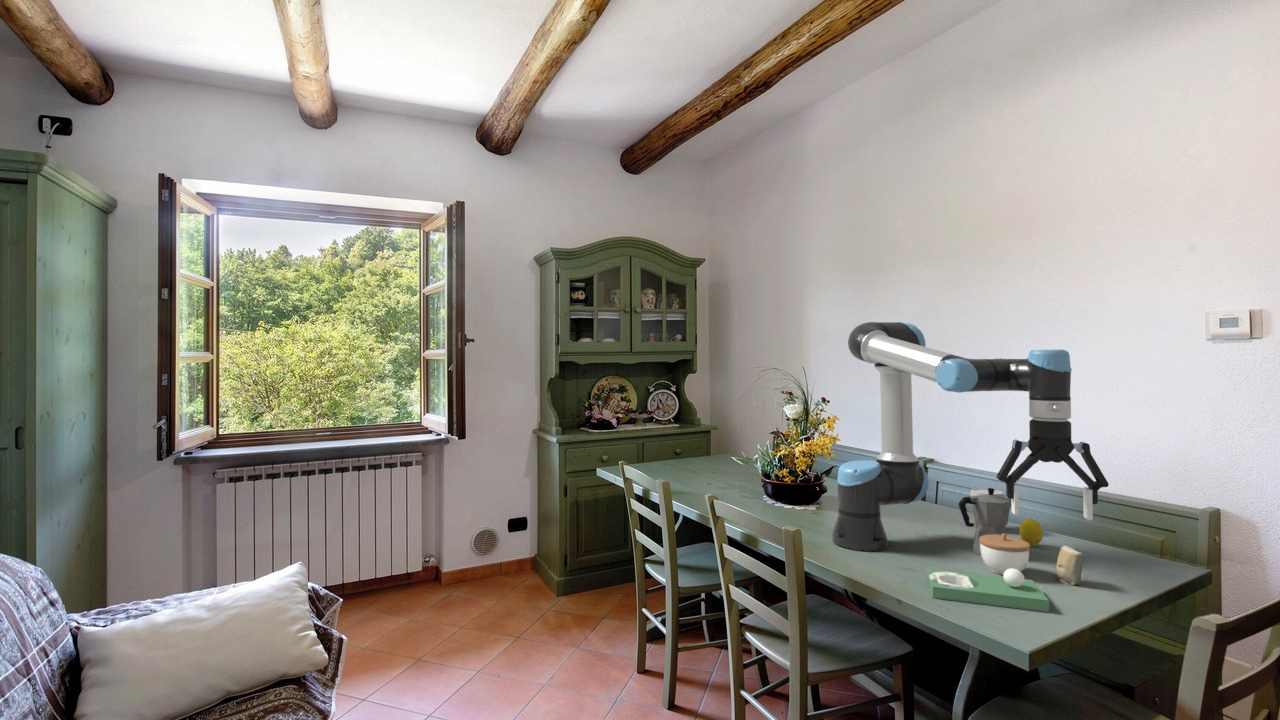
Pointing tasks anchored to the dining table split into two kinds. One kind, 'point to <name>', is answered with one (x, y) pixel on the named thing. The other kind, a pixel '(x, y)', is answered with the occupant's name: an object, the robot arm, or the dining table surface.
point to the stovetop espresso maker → (983, 492)
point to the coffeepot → (987, 515)
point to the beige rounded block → (1069, 566)
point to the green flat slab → (985, 590)
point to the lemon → (1031, 531)
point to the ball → (1013, 577)
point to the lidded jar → (1004, 552)
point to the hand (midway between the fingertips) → (1050, 516)
